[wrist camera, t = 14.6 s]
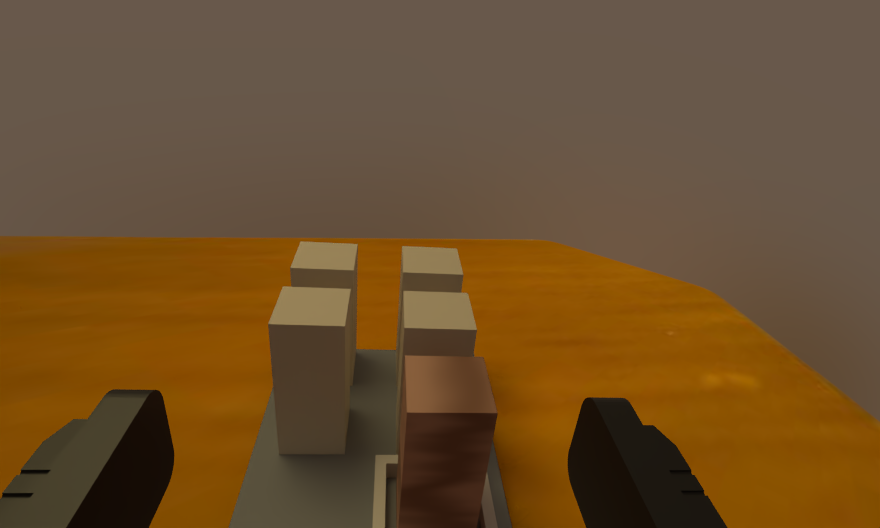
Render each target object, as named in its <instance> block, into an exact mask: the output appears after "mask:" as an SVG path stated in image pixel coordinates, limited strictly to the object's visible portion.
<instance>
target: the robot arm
mask: <svg viewBox="0 0 880 528" xmlns="http://www.w3.org/2000/svg"><path fill="white" fill-rule="evenodd" d="M173 465H174V449H173V444H172V439H171V434H170V429H169V424H168V419H167V415H166V410H165V405H164V400H163V396H162V394H161V393H160V392H159V391H158V390H111V391H109V392H108V393H107V394H106V395H105V396H104V397H103V399H102V400H101V401H100V403H99V404H98V406H97V407H96V408H95V410H94V411H93V412H92V414H91V415H90V416H89V418H88V419H73V420H72V421H71V422H69V423H68V424H67V425H65V426H64V427H63V428H61V429H60V430H59V431H57V432H56V433H55V434H53V435H52V436H50V437H49V438H48V439H46V440H45V441H44V442H42V444H41V445H40V446H39V448H38V449H37V450H36V451H35V453H34V454H33V455H32V456H31V458H30V459H29V460H28V461H27V463H26V464H25V465H24V466H23V468H22V469H21V473H20V475H16V477H15V478H14V479H13V480H12V482H11V483H10V484H9V485H8V487H7V488H6V489H5V490H4V492H3V493H2V494H3V495H2V498H1V499H0V528H149V526H150V523H151V521H152V519H153V517H154V515H155V513H156V511H157V508H158V506H159V504H160V502H161V500H162V498H163V496H164V493H165V491H166V489H167V487H168V484H169V482H170V479H171V475H172V471H173ZM568 473H569V479H570V483H571V486H572V489H573V492H574V495H575V498H576V500H577V503H578V506H579V509H580V511H581V514H582V517H583V520H584V522H585V525H586V528H727V526H726V525H725V523H724V521H723V520H722V518H721V517H720V515H719V513H718V512H717V510H716V509H715V507H714V506H713V504H712V502H711V501H710V499H709V498H708V496H705V495H704V490H703V488H702V486H701V485H700V483H699V482H698V480H697V478H696V477H695V475H692V474H691V469H690V467H689V466H688V464H687V462H686V461H685V459H684V458H683V456H682V454H681V453H680V451H679V450H678V448H677V446H676V445H675V444H673V443H672V442H671V441H670V440H669V439H668V438H667V437H666V436H665V435H663V434H662V433H661V432H660V431H659V430H658V429H657V428H656V427H655V426H653V425H643V424H642V423H641V421H640V419H639V418H638V416H637V414H636V412H635V411H634V409H633V407H632V405H631V404H630V402H629V401H628V400H626V399H625V398H586V399H585V400H584V401H583V404H582V406H581V410H580V414H579V417H578V421H577V424H576V428H575V431H574V435H573V439H572V442H571V446H570V449H569V454H568Z"/></svg>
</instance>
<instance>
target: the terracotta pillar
mask: <svg viewBox="0 0 880 528" xmlns="http://www.w3.org/2000/svg"><path fill="white" fill-rule="evenodd" d="M496 418H497V409H496V405H495V401H494V397H493V393H492V389H491V386H490V382H489V378H488V374H487V370H486V366H485V362H484V358H483V357H458V356H406V355H405V363H404V378H403V393H402V407H401V422H400V437H399V452H398V466H397V481H396V528H477V523H478V518H479V512H480V507H481V501H482V496H483V490H484V485H485V479H486V474H487V468H488V463H489V457H490V452H491V446H492V440H493V435H494V429H495V424H496Z"/></svg>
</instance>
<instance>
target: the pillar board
mask: <svg viewBox="0 0 880 528" xmlns="http://www.w3.org/2000/svg"><path fill="white" fill-rule="evenodd" d="M357 256H358V244H342V243H320V242H300V245H299V247H298V250H297V252H296V255H295V257H294V260H293V263H292V265H291V268H290V269H291V287H283V288H282V291H281V293H280V296H279V298H278V301H277V303H276V306H275V308H274V311H273V314H272V316H271V319H270V321H269V324H268V326H269V338H270V351H271V363H272V376H273V389H272V392H271V395H270V399H269V402H268V405H267V408H266V411H265V414H264V418H263V421H262V424H261V427H260V430H259V433H258V436H257V440H256V443H255V446H254V449H253V452H252V455H251V459H250V462H249V465H248V468H247V471H246V474H245V478H244V481H243V484H242V487H241V490H240V493H239V497H238V500H237V503H236V506H235V509H234V512H233V516H232V519H231V522H230V525H229V528H396V481H397V466H398V452H399V437H400V422H401V407H402V393H403V378H404V363H405V355H406V356H458V357H474V346H475V339H476V332H477V329H476V325H475V321H474V317H473V312H472V308H471V304H470V300H469V296H468V293H461V289H462V281H463V272H462V268H461V263H460V259H459V255H458V251H457V249H454V248H431V247H409V246H402V259H401V277H400V294H399V311H398V328H397V346H396V350H364V349H356V326H357ZM477 528H512V526H511V521H510V517H509V512H508V507H507V503H506V498H505V494H504V489H503V485H502V480H501V476H500V471H499V467H498V462H497V457H496V453H495V448H494V444H493V440H492V446H491V452H490V457H489V463H488V468H487V474H486V479H485V485H484V490H483V496H482V501H481V507H480V512H479V518H478V523H477Z"/></svg>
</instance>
